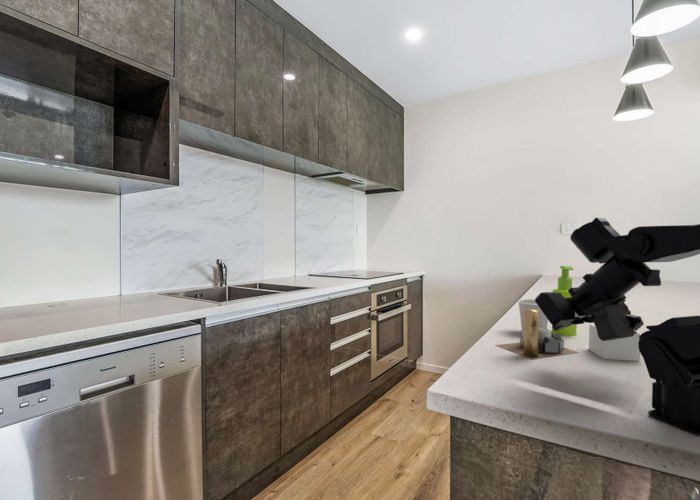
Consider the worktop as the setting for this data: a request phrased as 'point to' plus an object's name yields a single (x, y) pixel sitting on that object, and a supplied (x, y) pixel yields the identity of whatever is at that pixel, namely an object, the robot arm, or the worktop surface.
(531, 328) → the desk sculpture ornament
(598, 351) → the medicine bottle
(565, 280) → the soap dispenser
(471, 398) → the worktop surface
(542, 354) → the mount board
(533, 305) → the dixie cup
